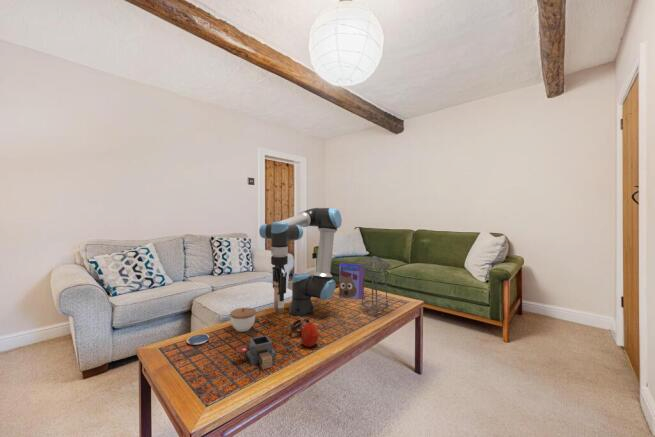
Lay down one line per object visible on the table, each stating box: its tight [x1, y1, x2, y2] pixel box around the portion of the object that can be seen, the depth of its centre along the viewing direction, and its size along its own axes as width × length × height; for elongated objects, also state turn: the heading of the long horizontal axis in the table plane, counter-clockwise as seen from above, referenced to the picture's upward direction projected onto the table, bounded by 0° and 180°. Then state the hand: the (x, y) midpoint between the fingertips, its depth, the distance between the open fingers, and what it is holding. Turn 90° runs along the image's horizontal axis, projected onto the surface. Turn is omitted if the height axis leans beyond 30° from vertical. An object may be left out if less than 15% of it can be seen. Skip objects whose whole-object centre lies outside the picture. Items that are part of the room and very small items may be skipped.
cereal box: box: [338, 263, 365, 300], centre depth 200 cm, size 17×5×24 cm, turn 81°
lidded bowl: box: [229, 307, 257, 333], centre depth 145 cm, size 13×13×11 cm
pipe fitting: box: [272, 281, 285, 314], centre depth 128 cm, size 5×5×14 cm
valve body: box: [236, 334, 277, 371], centre depth 118 cm, size 20×15×7 cm
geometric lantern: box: [358, 255, 392, 316], centre depth 172 cm, size 16×16×35 cm
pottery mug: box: [289, 317, 310, 334], centre depth 142 cm, size 12×10×8 cm
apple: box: [300, 321, 320, 348], centre depth 130 cm, size 8×8×11 cm
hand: (279, 305), depth 128 cm, fingers closed on pipe fitting, 4 cm apart
